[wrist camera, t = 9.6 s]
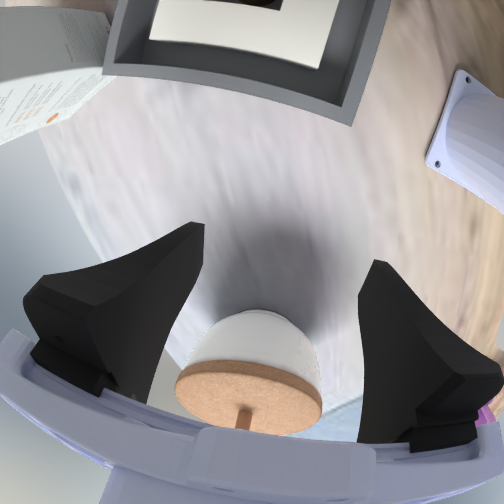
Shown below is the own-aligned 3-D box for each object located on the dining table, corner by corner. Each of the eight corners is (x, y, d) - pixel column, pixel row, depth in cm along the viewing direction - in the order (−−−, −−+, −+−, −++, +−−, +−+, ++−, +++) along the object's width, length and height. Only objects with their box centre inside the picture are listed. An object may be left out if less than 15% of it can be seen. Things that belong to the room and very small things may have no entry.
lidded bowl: (258, 263, 24) (228, 377, 15) (347, 338, 27) (351, 437, 18) (181, 324, 30) (143, 409, 21) (264, 377, 33) (248, 456, 24)
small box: (106, 11, 13) (-35, 7, 2) (132, 67, 16) (-23, 91, 5) (46, 69, 16) (-73, 103, 5) (68, 120, 19) (-54, 178, 8)
